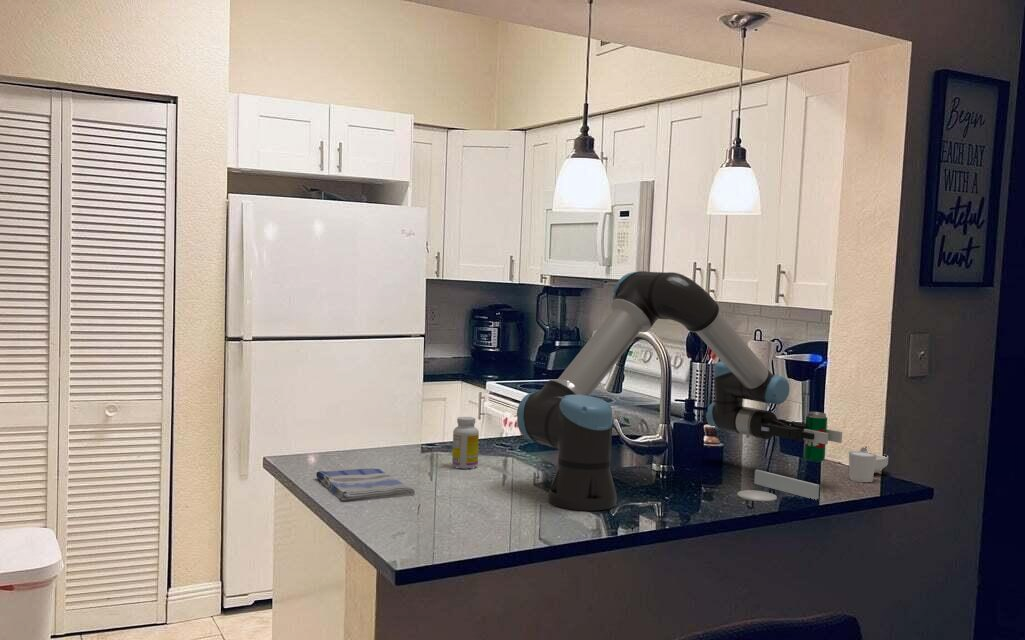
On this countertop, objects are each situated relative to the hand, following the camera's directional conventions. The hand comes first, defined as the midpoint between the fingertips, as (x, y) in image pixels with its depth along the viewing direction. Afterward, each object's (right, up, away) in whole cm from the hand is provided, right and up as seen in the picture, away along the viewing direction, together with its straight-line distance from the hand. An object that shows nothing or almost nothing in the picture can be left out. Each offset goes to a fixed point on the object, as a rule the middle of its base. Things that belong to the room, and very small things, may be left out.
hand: (833, 438), depth 216 cm
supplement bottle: (-92, -9, +13) cm, 93 cm away
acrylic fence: (-12, -13, -2) cm, 18 cm away
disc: (-21, -13, -8) cm, 26 cm away
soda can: (-3, -6, +5) cm, 9 cm away
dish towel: (-114, -10, -12) cm, 115 cm away
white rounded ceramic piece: (+18, -13, +25) cm, 33 cm away
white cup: (+12, -13, +14) cm, 23 cm away
